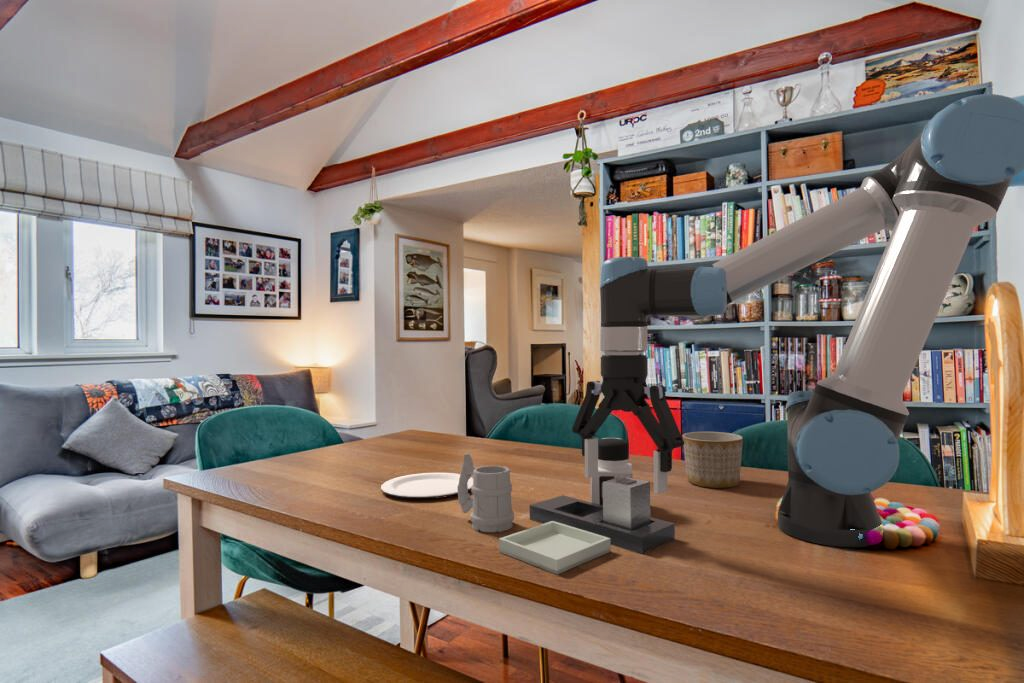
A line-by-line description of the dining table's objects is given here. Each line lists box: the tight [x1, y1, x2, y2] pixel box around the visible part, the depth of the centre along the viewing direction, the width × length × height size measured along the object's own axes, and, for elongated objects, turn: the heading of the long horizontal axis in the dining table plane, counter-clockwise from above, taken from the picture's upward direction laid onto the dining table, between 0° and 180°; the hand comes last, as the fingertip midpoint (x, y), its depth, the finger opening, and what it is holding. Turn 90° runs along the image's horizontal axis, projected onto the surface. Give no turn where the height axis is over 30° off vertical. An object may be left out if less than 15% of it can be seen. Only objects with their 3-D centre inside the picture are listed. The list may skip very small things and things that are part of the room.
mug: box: [457, 452, 515, 533], centre depth 100 cm, size 8×12×12 cm, turn 52°
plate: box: [380, 472, 473, 499], centre depth 124 cm, size 21×21×2 cm
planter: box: [682, 431, 744, 489], centre depth 125 cm, size 13×13×10 cm
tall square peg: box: [603, 476, 651, 531], centre depth 92 cm, size 5×5×9 cm
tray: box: [498, 521, 612, 575], centre depth 86 cm, size 12×12×2 cm
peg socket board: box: [529, 495, 676, 555], centre depth 96 cm, size 24×9×2 cm, turn 43°
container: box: [590, 437, 634, 505], centre depth 109 cm, size 8×8×13 cm
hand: (624, 484), depth 92 cm, fingers open, 13 cm apart
